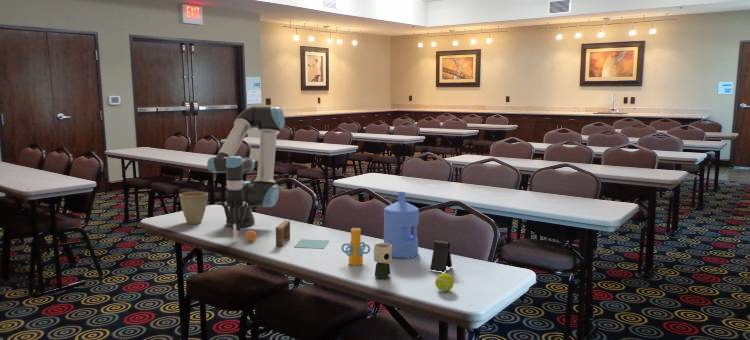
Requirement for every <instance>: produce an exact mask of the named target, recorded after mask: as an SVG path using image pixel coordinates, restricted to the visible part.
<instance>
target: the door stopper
mask: <svg viewBox="0 0 750 340" xmlns="http://www.w3.org/2000/svg"><path fill="white" fill-rule="evenodd" d="M451 254H452V253H451V243H450V241H444V240H439V239H436V240H434V242H433V251H432V257H431V262H430V269H431V270H436V271H442V272H444V271H445V270H446V266H448V267H451V266H452V267H453V262H452V256H451ZM430 269H429V270H430Z"/></svg>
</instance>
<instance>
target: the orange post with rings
mask: <svg viewBox="0 0 750 340" xmlns="http://www.w3.org/2000/svg"><path fill="white" fill-rule="evenodd" d="M361 231H362V229H361V228H359V227H352V228H351V229H350V242H349V243H343V244H342V245H341V248H340V250H341V251H342V252H343V253H344V254H346V256H348V265H350V264H351V266H360V264H361V265H363V264H364V263H363V262H364V261H363V259H364V255H367V254H369V253H370V252H371V247H370V245H368V244H367V243H365V242H364V241H362V239H361V236H362V235H361V234H362V233H361ZM344 247H346V248H345V249H344ZM366 247H367V248H368V249H367V251H365V250H366ZM362 263H363V264H362Z"/></svg>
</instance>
